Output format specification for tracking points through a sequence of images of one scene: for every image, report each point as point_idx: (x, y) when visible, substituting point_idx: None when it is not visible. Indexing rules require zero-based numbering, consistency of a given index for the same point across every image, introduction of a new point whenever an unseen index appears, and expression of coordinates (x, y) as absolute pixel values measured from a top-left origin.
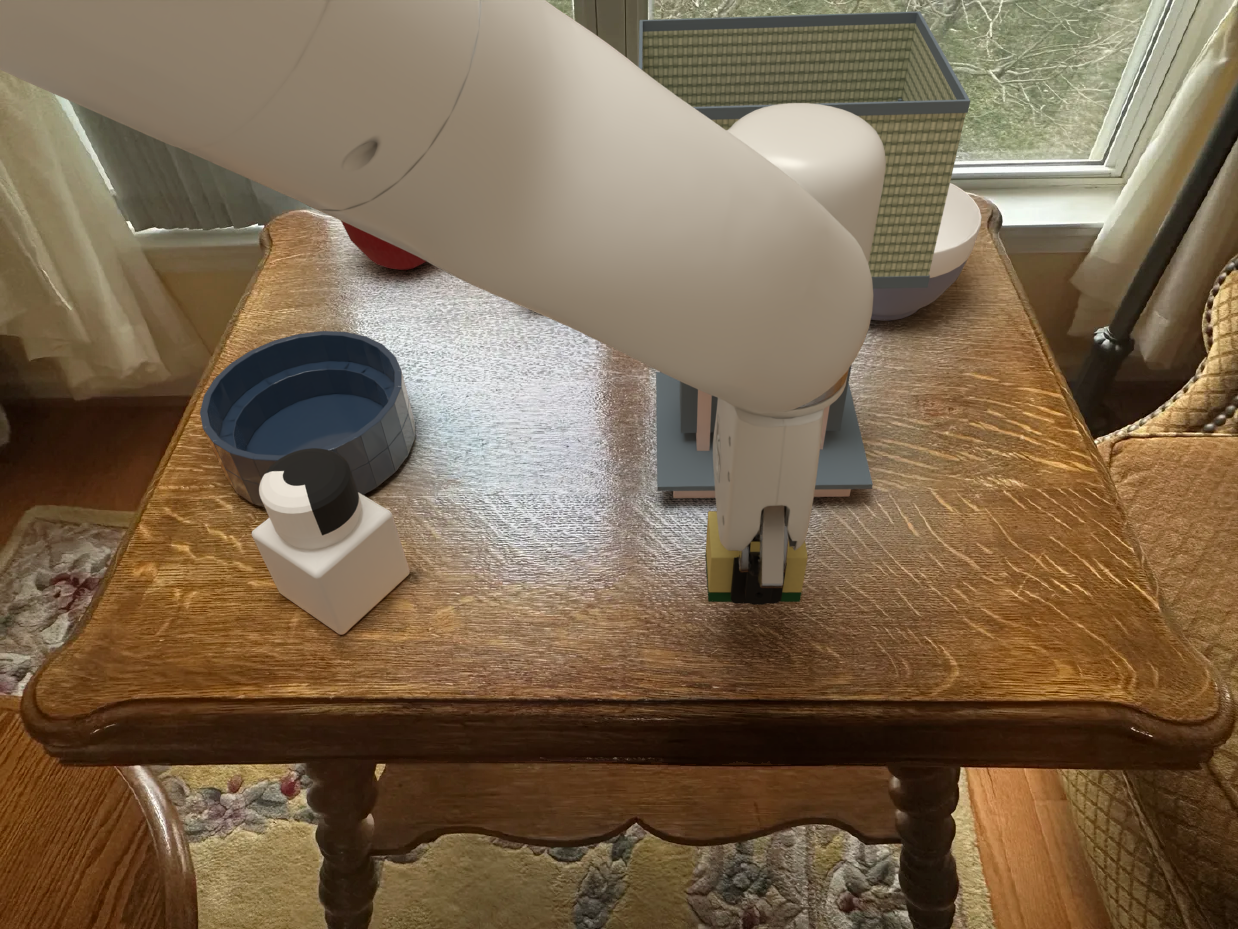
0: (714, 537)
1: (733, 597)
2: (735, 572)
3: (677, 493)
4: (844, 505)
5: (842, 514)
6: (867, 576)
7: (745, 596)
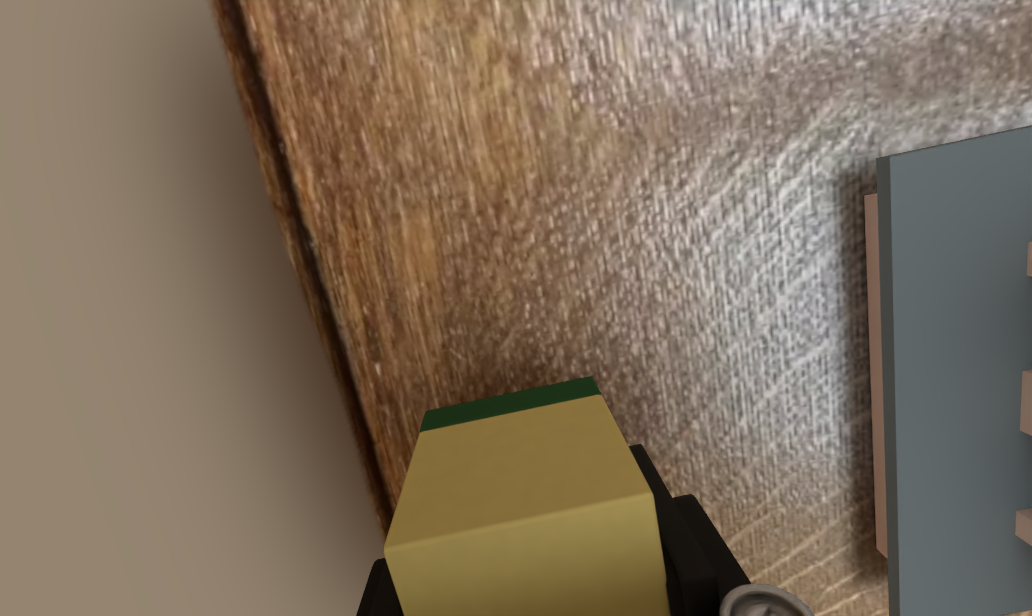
0: (500, 543)
1: None
2: (374, 607)
3: (877, 205)
4: (852, 540)
5: (828, 539)
6: None
7: (375, 571)
